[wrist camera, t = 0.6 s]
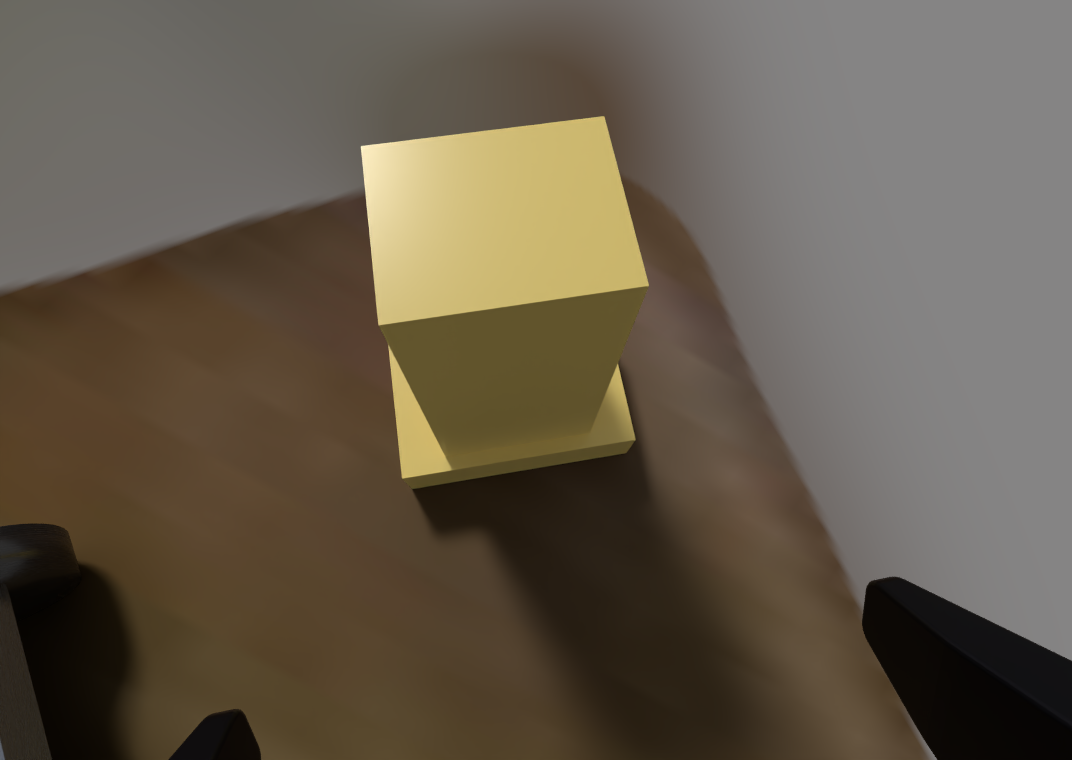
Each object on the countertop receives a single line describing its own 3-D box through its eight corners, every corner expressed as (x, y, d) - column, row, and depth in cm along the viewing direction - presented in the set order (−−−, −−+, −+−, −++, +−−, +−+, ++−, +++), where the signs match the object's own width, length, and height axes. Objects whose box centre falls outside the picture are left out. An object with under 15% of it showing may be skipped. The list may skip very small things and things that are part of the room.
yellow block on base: (626, 453, 23) (734, 297, 12) (412, 489, 23) (295, 363, 11) (598, 332, 25) (668, 89, 13) (398, 362, 24) (284, 135, 13)
